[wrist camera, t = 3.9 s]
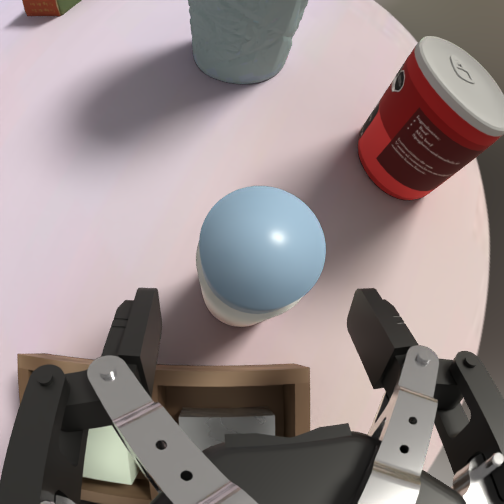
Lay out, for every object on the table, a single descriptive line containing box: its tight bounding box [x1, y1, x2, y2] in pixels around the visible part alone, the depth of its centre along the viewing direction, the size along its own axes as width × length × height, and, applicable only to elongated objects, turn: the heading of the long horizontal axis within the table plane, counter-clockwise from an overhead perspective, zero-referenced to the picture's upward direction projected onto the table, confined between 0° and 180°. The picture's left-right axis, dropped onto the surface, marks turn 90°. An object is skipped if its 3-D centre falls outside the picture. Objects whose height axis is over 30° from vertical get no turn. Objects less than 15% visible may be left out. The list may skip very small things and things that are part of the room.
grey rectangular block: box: [179, 406, 275, 451], centre depth 16 cm, size 5×4×2 cm
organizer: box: [17, 353, 310, 504], centre depth 14 cm, size 16×16×4 cm
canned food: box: [358, 36, 504, 200], centre depth 19 cm, size 8×8×11 cm
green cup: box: [188, 0, 308, 84], centre depth 20 cm, size 10×10×12 cm
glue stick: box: [196, 186, 326, 327], centre depth 16 cm, size 5×5×10 cm
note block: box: [83, 425, 140, 485], centre depth 15 cm, size 5×5×3 cm
